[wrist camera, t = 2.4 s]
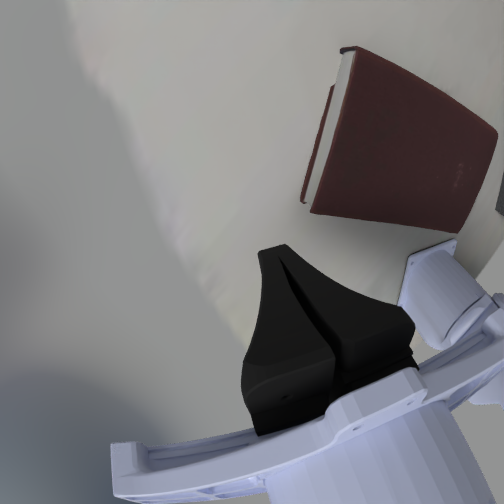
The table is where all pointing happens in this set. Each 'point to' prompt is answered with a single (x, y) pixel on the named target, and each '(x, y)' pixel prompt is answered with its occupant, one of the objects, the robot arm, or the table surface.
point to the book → (396, 149)
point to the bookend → (501, 199)
